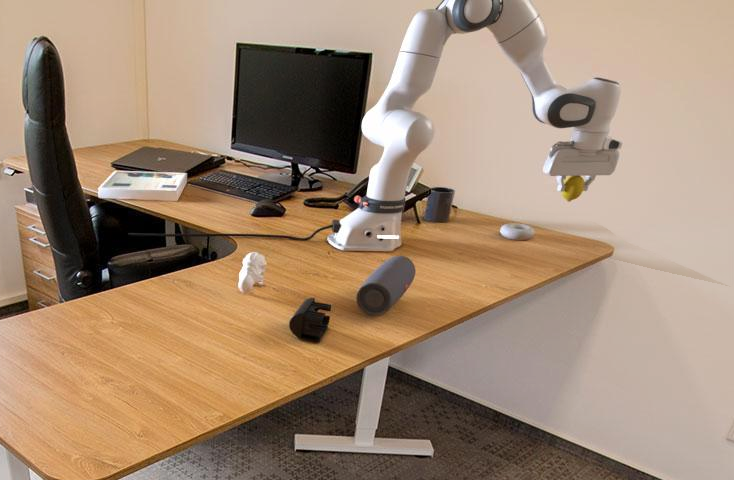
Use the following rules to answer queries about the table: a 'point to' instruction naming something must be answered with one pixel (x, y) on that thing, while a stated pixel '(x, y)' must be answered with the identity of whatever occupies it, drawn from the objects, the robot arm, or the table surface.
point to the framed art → (143, 185)
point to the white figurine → (252, 271)
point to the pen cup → (439, 204)
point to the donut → (517, 231)
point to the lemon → (573, 187)
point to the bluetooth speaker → (386, 285)
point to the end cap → (310, 321)
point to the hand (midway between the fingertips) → (571, 190)
